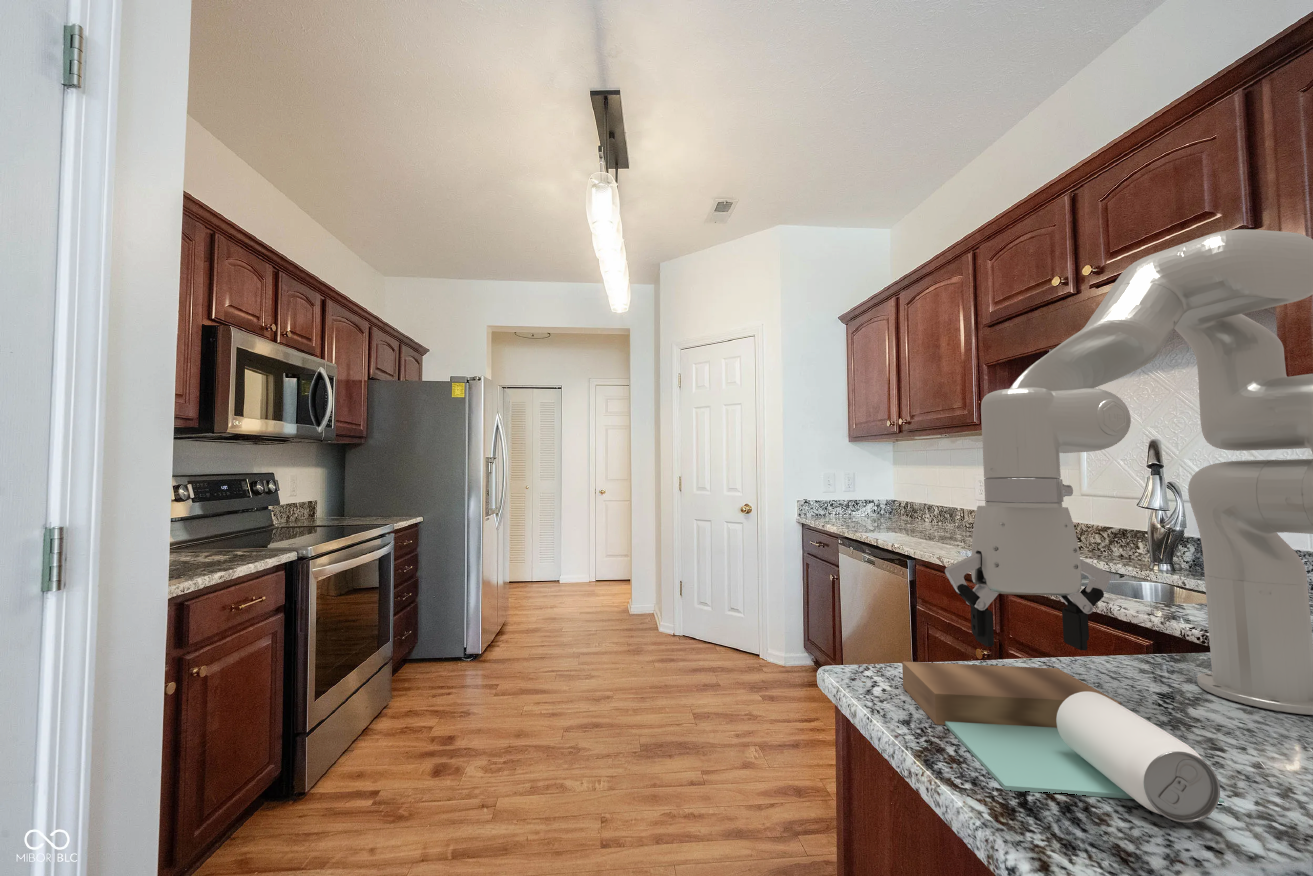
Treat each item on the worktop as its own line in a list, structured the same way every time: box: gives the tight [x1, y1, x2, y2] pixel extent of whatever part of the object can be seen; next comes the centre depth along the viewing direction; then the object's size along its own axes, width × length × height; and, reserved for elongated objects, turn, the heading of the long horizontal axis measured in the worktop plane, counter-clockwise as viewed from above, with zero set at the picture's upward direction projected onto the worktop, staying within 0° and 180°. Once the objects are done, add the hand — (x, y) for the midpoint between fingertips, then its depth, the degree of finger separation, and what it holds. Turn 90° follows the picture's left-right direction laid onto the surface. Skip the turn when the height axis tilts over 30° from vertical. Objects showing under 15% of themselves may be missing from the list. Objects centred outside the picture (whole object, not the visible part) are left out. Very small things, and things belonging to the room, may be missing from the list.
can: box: [1056, 691, 1221, 823], centre depth 51 cm, size 6×6×12 cm
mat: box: [944, 721, 1226, 805], centre depth 56 cm, size 18×14×1 cm
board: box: [901, 661, 1122, 728], centre depth 69 cm, size 20×12×4 cm, turn 83°
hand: (1029, 645), depth 63 cm, fingers open, 9 cm apart
